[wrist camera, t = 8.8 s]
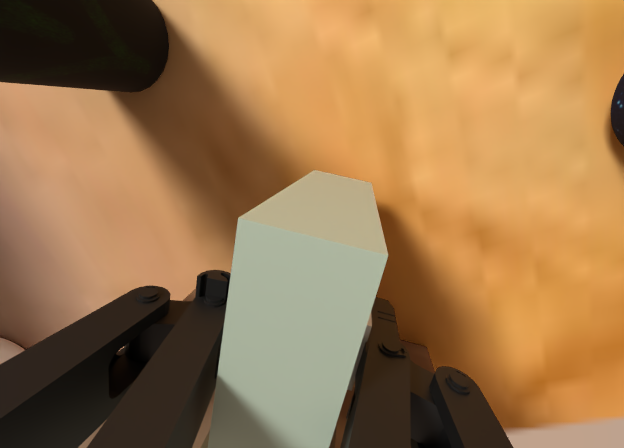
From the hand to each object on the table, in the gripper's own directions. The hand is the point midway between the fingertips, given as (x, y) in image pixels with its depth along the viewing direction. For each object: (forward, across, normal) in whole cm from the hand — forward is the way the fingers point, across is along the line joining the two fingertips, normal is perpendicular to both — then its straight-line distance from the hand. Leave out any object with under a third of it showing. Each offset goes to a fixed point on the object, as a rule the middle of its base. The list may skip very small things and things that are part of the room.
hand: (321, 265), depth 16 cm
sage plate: (+1, 0, -3) cm, 3 cm away
